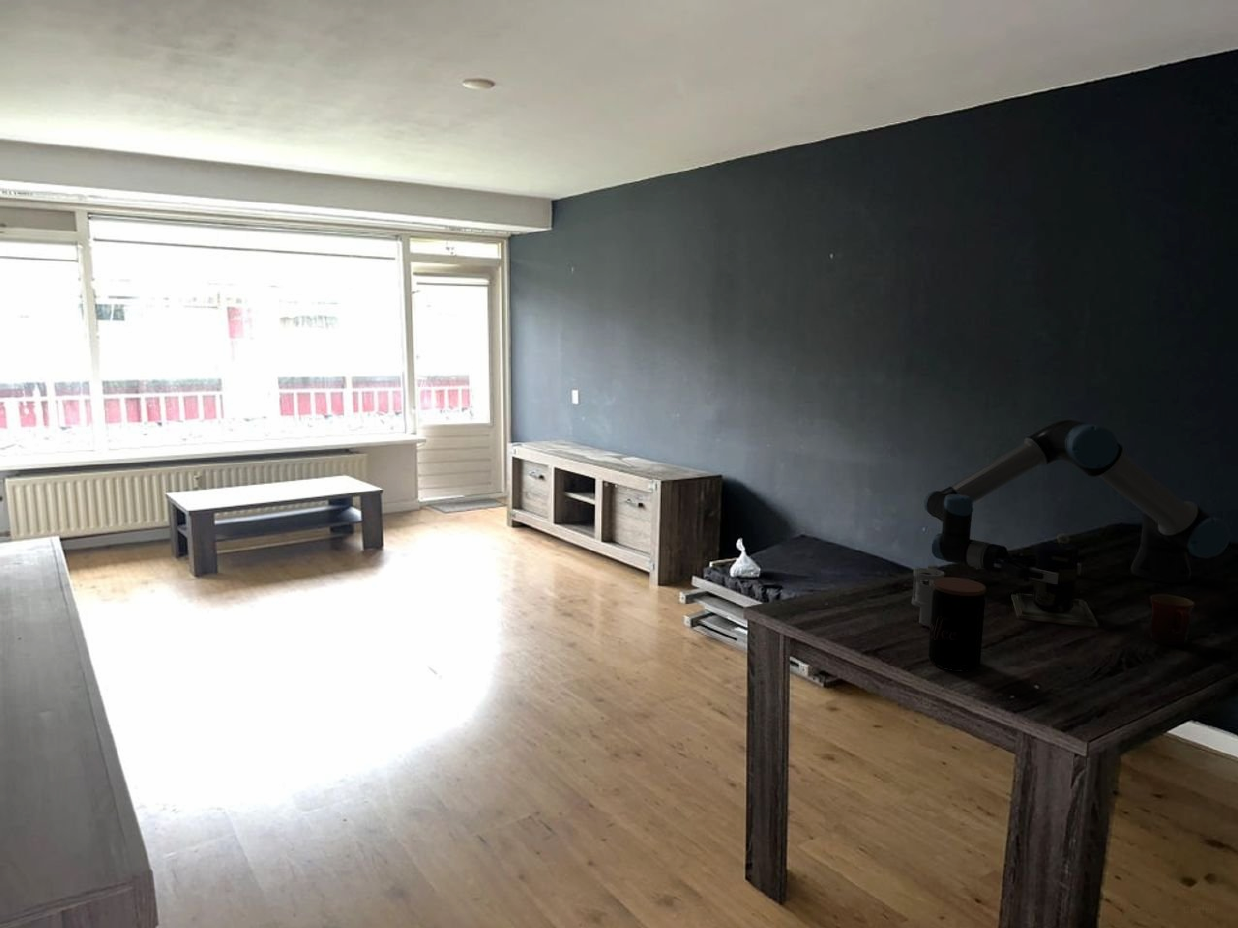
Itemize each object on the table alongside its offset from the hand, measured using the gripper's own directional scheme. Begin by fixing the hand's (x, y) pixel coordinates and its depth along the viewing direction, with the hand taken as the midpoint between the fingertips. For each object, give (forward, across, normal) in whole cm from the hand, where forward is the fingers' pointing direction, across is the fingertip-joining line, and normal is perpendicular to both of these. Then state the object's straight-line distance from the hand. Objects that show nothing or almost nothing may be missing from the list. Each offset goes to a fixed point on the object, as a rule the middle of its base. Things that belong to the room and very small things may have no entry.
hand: (1069, 574), depth 210 cm
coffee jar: (-2, +52, -11) cm, 54 cm away
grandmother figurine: (-17, -38, -11) cm, 43 cm away
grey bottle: (-19, +35, -11) cm, 42 cm away
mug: (+24, +2, -11) cm, 27 cm away
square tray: (-3, 0, -11) cm, 11 cm away
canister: (-3, 0, -10) cm, 11 cm away
